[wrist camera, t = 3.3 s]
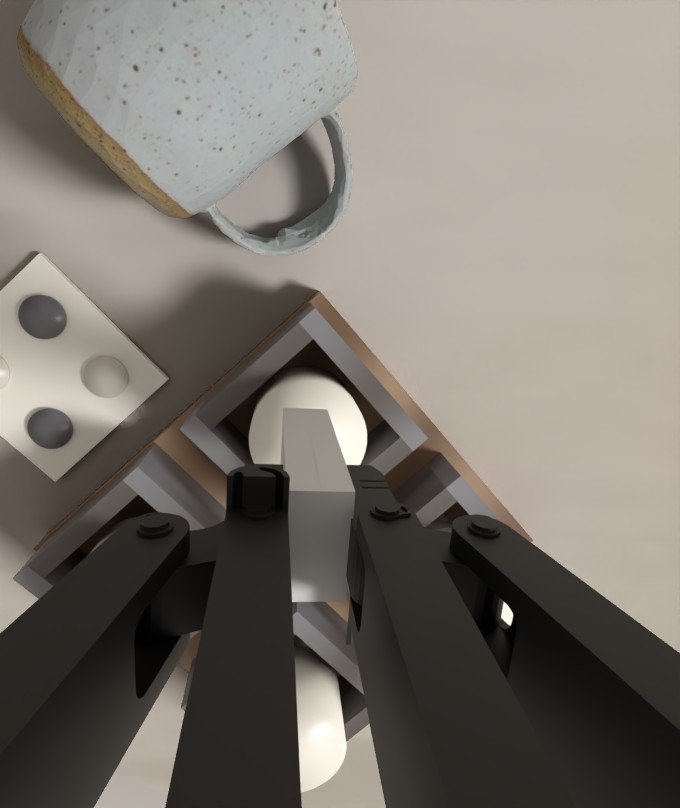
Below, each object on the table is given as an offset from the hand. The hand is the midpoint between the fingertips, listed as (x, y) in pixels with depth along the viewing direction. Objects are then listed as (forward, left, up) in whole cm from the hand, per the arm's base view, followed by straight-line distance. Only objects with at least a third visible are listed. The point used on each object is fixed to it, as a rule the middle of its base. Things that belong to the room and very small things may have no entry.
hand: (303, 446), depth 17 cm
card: (-8, -7, -6) cm, 12 cm away
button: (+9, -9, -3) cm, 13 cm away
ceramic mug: (-10, +6, -7) cm, 14 cm away
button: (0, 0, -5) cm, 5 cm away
